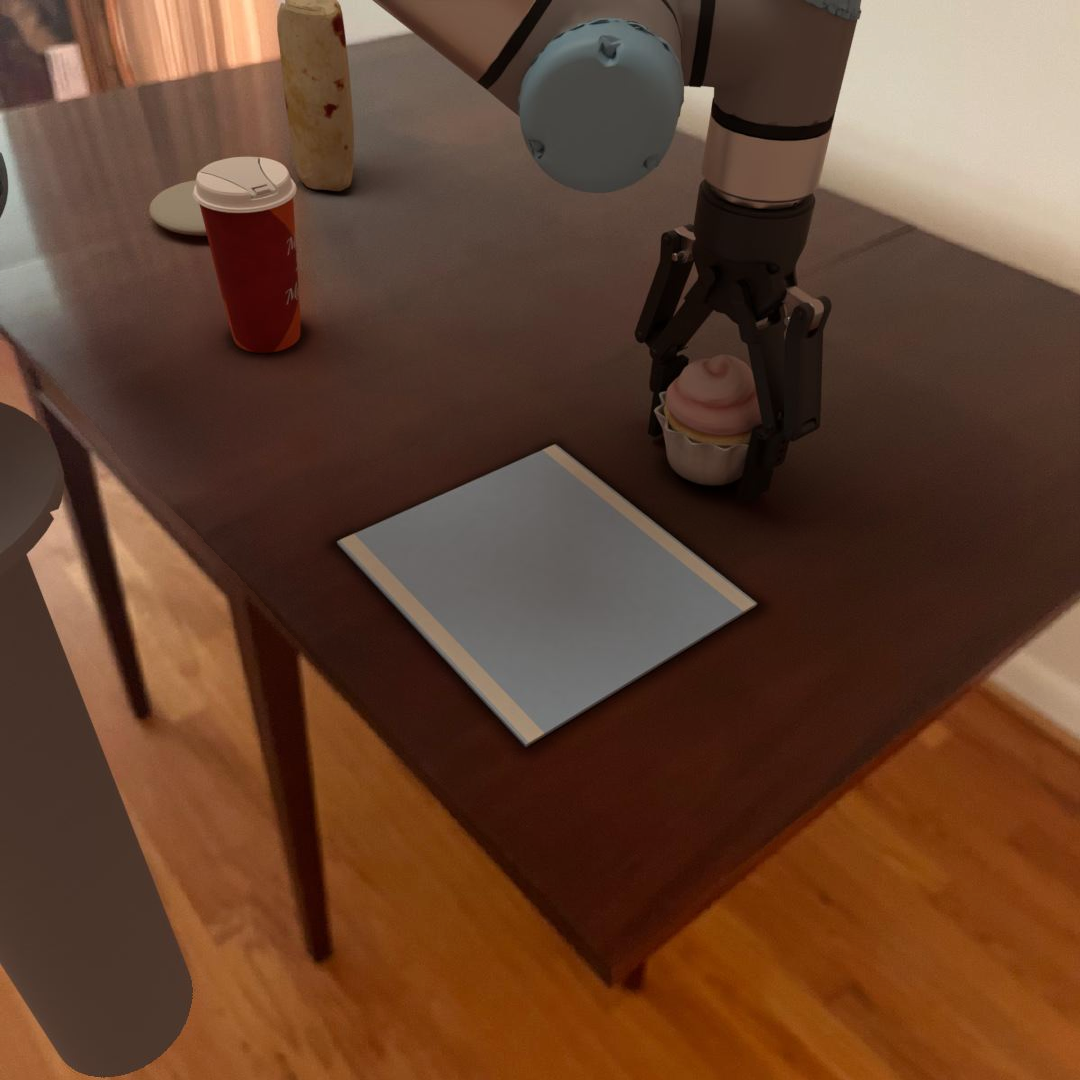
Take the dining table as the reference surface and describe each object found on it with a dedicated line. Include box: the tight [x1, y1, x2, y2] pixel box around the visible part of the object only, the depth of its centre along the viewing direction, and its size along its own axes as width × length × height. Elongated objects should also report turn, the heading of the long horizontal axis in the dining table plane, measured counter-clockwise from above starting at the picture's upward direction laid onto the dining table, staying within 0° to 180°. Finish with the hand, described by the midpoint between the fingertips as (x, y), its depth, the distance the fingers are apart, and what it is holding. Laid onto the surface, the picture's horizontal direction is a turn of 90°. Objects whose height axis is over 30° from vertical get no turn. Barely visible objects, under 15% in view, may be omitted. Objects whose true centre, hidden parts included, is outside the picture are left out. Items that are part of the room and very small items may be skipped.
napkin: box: [336, 443, 758, 748], centre depth 73 cm, size 22×20×1 cm
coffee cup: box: [193, 156, 301, 354], centre depth 90 cm, size 8×8×15 cm
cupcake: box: [654, 354, 762, 486], centre depth 79 cm, size 9×9×10 cm
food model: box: [276, 0, 355, 192], centre depth 113 cm, size 10×7×20 cm
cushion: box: [148, 179, 207, 237], centre depth 110 cm, size 12×12×3 cm
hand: (706, 460), depth 83 cm, fingers closed on cupcake, 9 cm apart
